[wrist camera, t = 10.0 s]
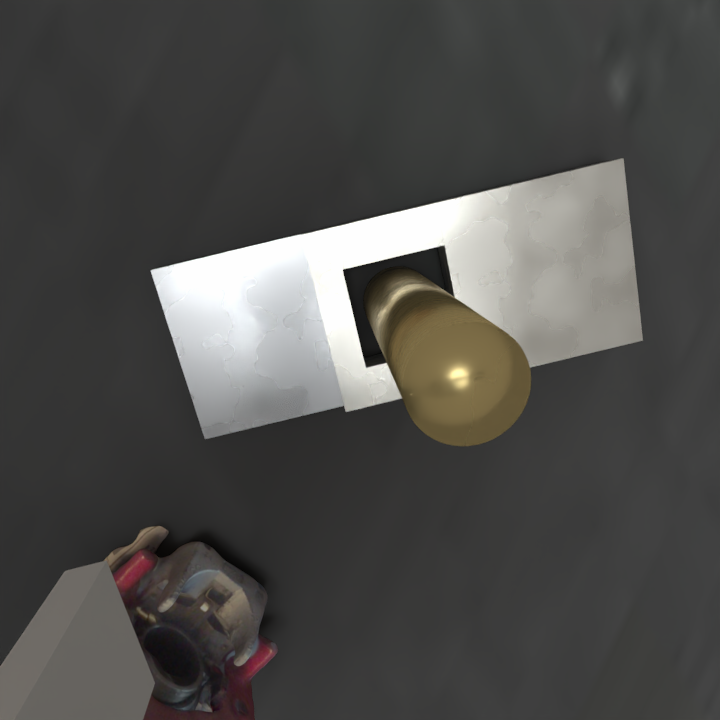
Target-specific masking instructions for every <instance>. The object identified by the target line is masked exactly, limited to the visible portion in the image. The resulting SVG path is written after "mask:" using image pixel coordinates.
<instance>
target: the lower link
mask: <svg viewBox="0 0 720 720" xmlns="http://www.w3.org/2000/svg"><path fill="white" fill-rule="evenodd" d="M456 197H460V196H456ZM452 198H455V197H452ZM448 199H451V198H448ZM443 200H447V199H443ZM443 200H439V201H443ZM439 201H435V202H439ZM431 203H434V202H431ZM427 204H430V203H427ZM423 205H426V204H423ZM418 206H422V205H418ZM418 206H414V207H418ZM414 207H410V208H414ZM406 209H409V208H406ZM402 210H405V209H402ZM397 211H401V210H397ZM397 211H393V212H397ZM393 212H389V213H393ZM385 214H388V213H385ZM381 215H384V214H381ZM377 216H380V215H377ZM372 217H376V216H372ZM372 217H368V218H372ZM364 219H367V218H364ZM360 220H363V219H360ZM356 221H359V220H356ZM351 222H355V221H351ZM351 222H347V223H351ZM347 223H343V224H347ZM339 225H342V224H339ZM335 226H338V225H335ZM330 227H334V226H330ZM330 227H326V228H330ZM326 228H322V229H326ZM318 230H321V229H318ZM314 231H317V230H314ZM310 232H313V231H310ZM305 233H309V232H305ZM305 233H301V234H297V235H293V236H289V237H284V238H280V239H276V240H272V241H268V242H264V243H259V244H255V245H251V246H247V247H243V248H238V249H234V250H230V251H226V252H222V253H218V254H213V255H209V256H205V257H201V258H197V259H192V260H188V261H184V262H180V263H176V264H171V265H167V266H163V267H159V268H155V269H153V270H151V273H152V277H153V280H154V283H155V286H156V289H157V292H158V295H159V298H160V301H161V304H162V308H163V311H164V314H165V317H166V320H167V323H168V326H169V329H170V332H171V335H172V339H173V342H174V345H175V348H176V351H177V354H178V357H179V360H180V363H181V367H182V370H183V373H184V376H185V379H186V382H187V385H188V388H189V391H190V394H191V398H192V401H193V404H194V407H195V410H196V413H197V416H198V419H199V422H200V426H201V429H202V432H203V435H204V438H205V439H208V438H212V437H217V436H221V435H225V434H229V433H233V432H237V431H242V430H246V429H250V428H254V427H258V426H262V425H266V424H271V423H275V422H279V421H283V420H287V419H291V418H295V417H300V416H304V415H308V414H312V413H316V412H320V411H325V410H329V409H333V408H337V407H341V406H344V403H343V399H342V395H341V391H340V387H339V383H338V379H337V375H336V371H335V367H334V363H333V359H332V355H331V351H330V347H329V343H328V339H327V335H326V331H325V327H324V323H323V319H322V315H321V311H320V308H319V304H318V300H317V296H316V292H315V288H314V284H313V280H312V276H311V272H310V268H309V264H308V260H307V256H306V252H305V248H304V244H303V240H302V236H301V235H302V234H305ZM438 252H439V257H440V262H441V268H442V273H443V278H444V283H445V288H446V292H448V293H449V294H450V291H449V285H448V280H447V275H446V270H445V265H444V259H443V254H442V249H441V246H439V247H438ZM383 358H384V355H383V353H382V354H378V355H374V356H370V357H365V358H364V362H365V363H366V362H370V361H374V360H379V359H383Z"/></svg>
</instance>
